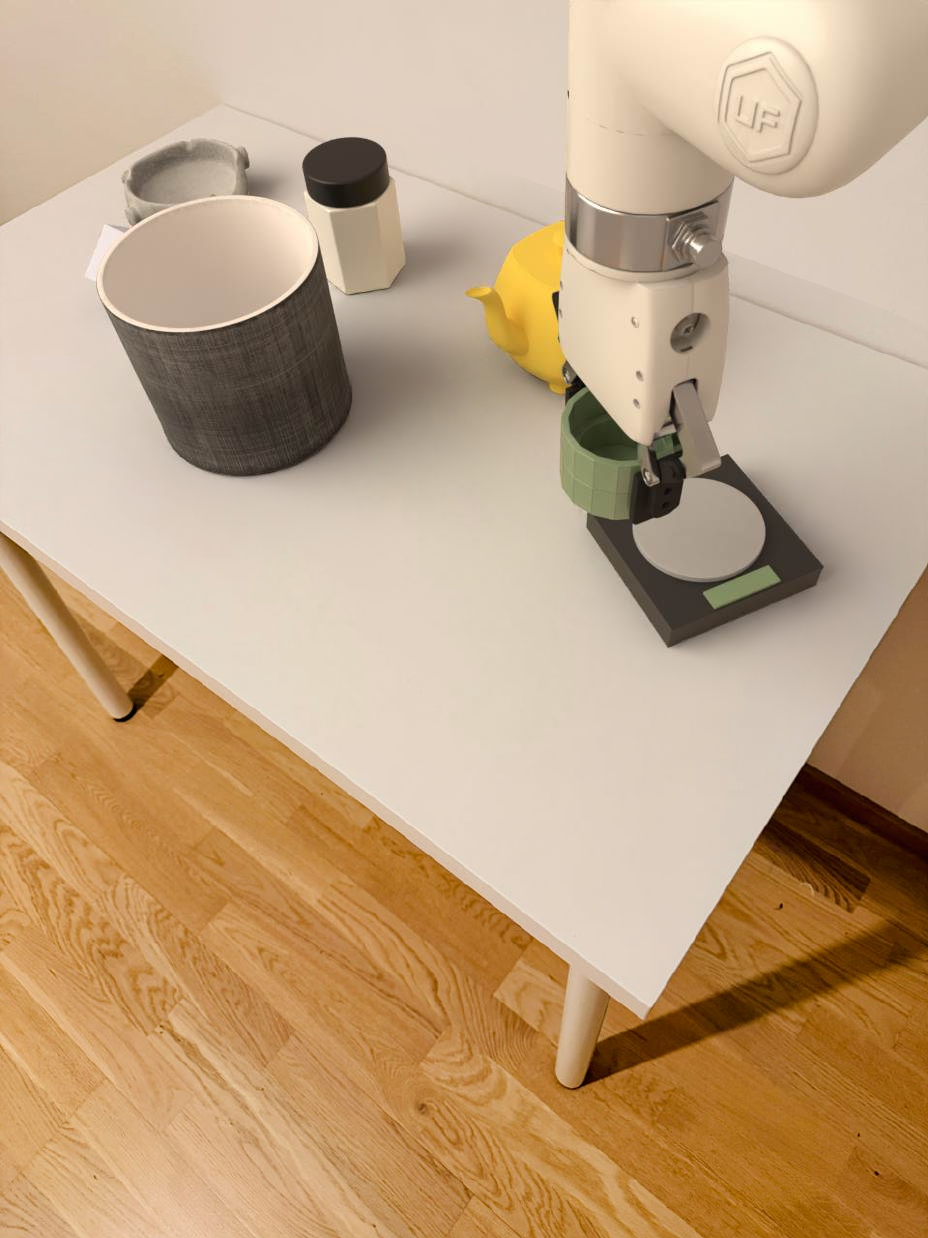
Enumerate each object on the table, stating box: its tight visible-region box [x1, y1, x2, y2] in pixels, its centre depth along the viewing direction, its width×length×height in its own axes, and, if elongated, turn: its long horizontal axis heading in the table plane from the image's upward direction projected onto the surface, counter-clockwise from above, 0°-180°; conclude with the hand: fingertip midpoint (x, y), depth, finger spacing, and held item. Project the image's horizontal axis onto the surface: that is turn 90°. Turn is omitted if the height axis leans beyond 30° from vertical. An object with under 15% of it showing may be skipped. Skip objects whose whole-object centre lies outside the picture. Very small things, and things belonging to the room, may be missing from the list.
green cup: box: [559, 386, 674, 520], centre depth 55 cm, size 7×7×5 cm
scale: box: [585, 453, 825, 648], centre depth 71 cm, size 13×13×3 cm
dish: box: [121, 137, 251, 228], centre depth 102 cm, size 14×14×5 cm
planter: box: [95, 195, 353, 476], centre depth 78 cm, size 18×18×16 cm
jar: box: [301, 136, 407, 295], centre depth 91 cm, size 9×8×12 cm
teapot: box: [464, 219, 571, 395], centre depth 81 cm, size 13×20×12 cm
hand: (619, 468), depth 57 cm, fingers closed on green cup, 7 cm apart
